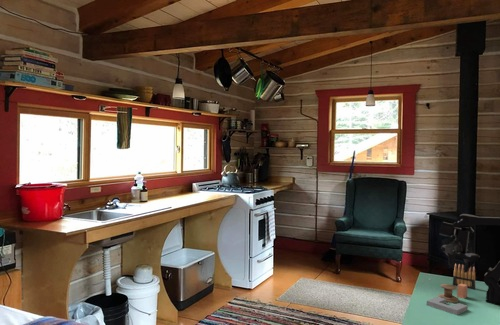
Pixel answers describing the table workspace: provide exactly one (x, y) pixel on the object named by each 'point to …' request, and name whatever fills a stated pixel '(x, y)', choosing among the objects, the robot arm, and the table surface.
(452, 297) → the brown door knob
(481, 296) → the table surface
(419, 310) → the table surface
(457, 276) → the ammunition clip
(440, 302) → the notched board
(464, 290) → the tab
